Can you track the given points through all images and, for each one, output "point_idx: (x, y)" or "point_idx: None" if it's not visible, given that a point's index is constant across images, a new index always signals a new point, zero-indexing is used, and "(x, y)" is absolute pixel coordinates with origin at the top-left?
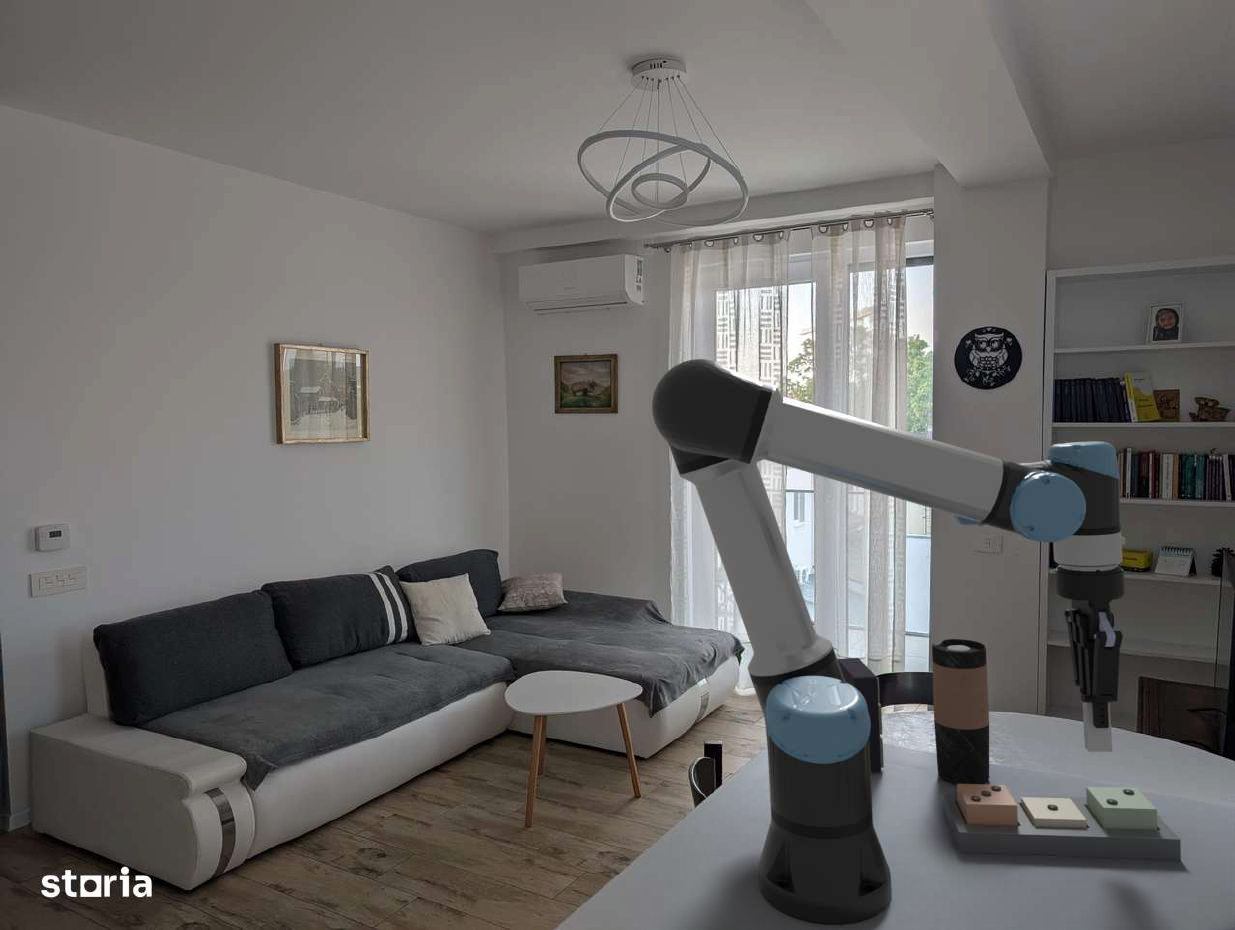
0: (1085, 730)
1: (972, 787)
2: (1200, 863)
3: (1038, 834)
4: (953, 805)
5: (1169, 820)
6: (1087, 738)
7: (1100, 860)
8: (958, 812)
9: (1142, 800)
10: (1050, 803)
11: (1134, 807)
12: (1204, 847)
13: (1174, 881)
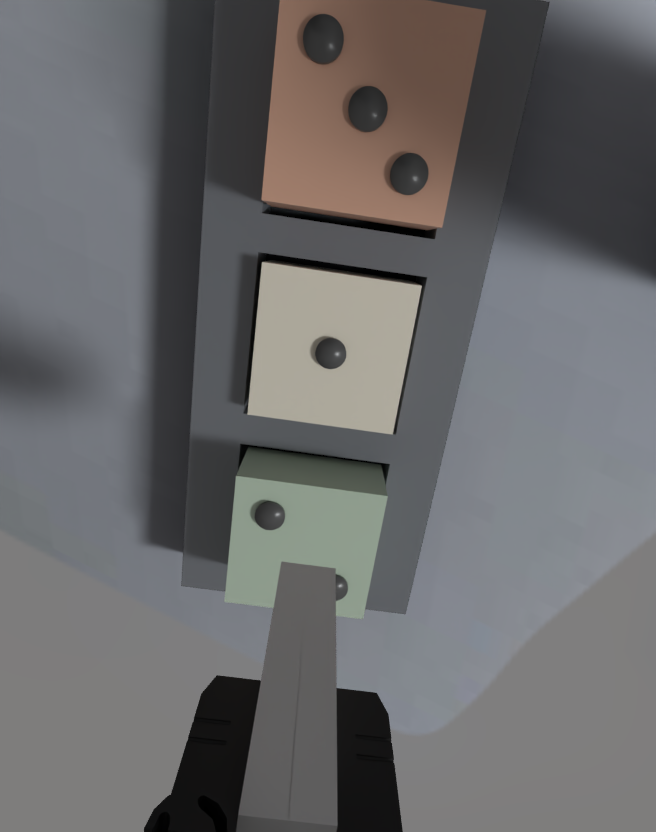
0: (311, 627)
1: (437, 73)
2: None
3: (202, 244)
4: None
5: (377, 624)
6: (290, 601)
7: (189, 389)
8: None
9: None
10: (365, 361)
11: (235, 554)
12: (251, 624)
13: (101, 497)
